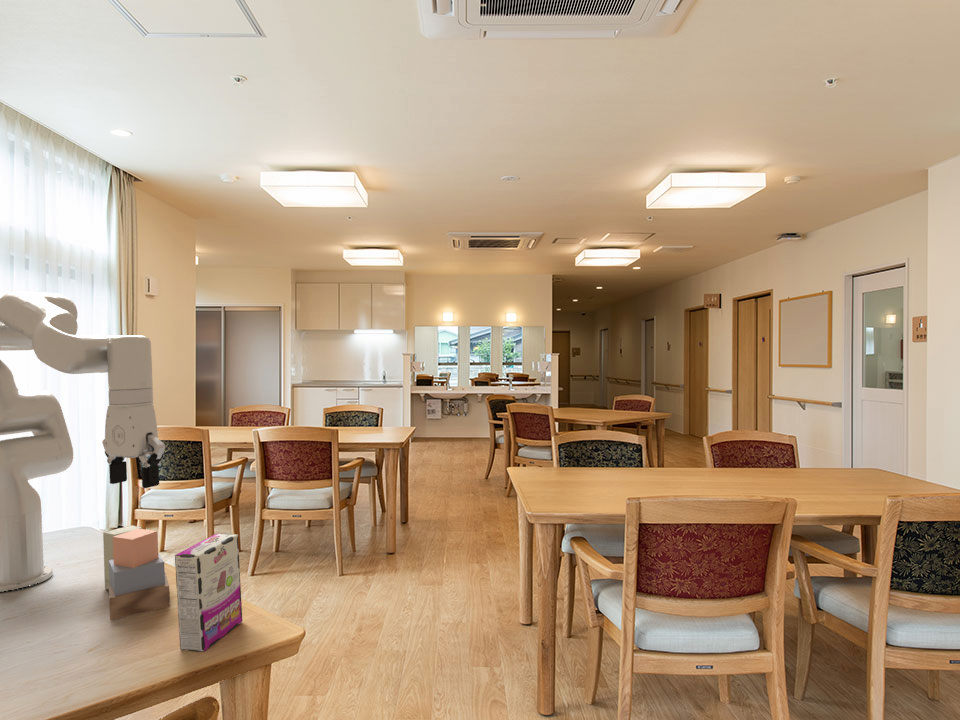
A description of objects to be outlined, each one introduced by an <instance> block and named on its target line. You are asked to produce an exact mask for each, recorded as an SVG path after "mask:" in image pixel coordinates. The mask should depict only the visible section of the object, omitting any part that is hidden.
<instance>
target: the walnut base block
mask: <svg viewBox="0 0 960 720" xmlns="http://www.w3.org/2000/svg"><path fill="white" fill-rule="evenodd" d="M108 599H109V600H108V602H109V604H108V605H109V620H110V621H112V620H116V619H120V618H121V619H122V618H124V617H125V618H126V617H129V616H133V615H138V614H141V613H142V612H143V613H146V611H147V612H151V611H150V610H152V611H154V609H156V610H159V609H164V608H169V607H171V603H170V602H171V601H170V583H169V580H168V577H167V575H166V572H165V584H164V585H160V586H156V587H152V588H147V589H143V590H139V591H135V592H131V593H126V594H122V595H118V596H115V595H114V592H113V590H112V587H111V585H110V581H109V590H108ZM143 613H142V614H143Z"/></svg>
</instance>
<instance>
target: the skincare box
mask: <svg viewBox="0 0 960 720" xmlns="http://www.w3.org/2000/svg"><path fill="white" fill-rule="evenodd" d="M135 529H143V528H142V527H141V526H136V525H133V524H131V525H128V526H127V525H126V526H124V527H118V528H116V529H112V530H107V531H103V532H102V537H103V567H104V568H103V569H104V570H103V571H104V589H106V590H108V591H109V581H110V578H109V560H113V537H114V536H117V535H120V534H123V533H126V532H129V531H132V530H135Z"/></svg>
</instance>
